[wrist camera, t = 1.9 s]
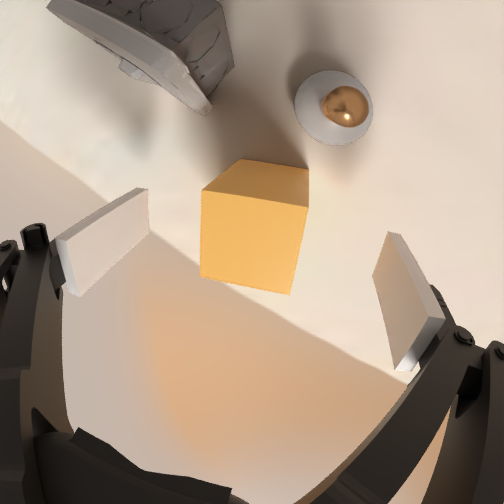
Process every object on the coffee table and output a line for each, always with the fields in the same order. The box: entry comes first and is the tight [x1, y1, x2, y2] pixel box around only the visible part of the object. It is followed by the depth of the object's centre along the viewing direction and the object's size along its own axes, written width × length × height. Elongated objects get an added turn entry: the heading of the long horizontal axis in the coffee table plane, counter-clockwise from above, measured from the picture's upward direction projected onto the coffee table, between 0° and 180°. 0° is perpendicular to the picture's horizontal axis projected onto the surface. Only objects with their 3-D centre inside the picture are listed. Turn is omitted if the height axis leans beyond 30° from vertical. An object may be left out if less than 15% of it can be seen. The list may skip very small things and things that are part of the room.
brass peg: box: [320, 86, 369, 128], centre depth 11 cm, size 2×2×6 cm
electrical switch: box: [46, 0, 234, 116], centre depth 10 cm, size 9×5×9 cm, turn 50°
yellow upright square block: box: [200, 159, 309, 295], centre depth 15 cm, size 4×4×7 cm
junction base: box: [294, 70, 373, 145], centre depth 14 cm, size 4×4×2 cm
